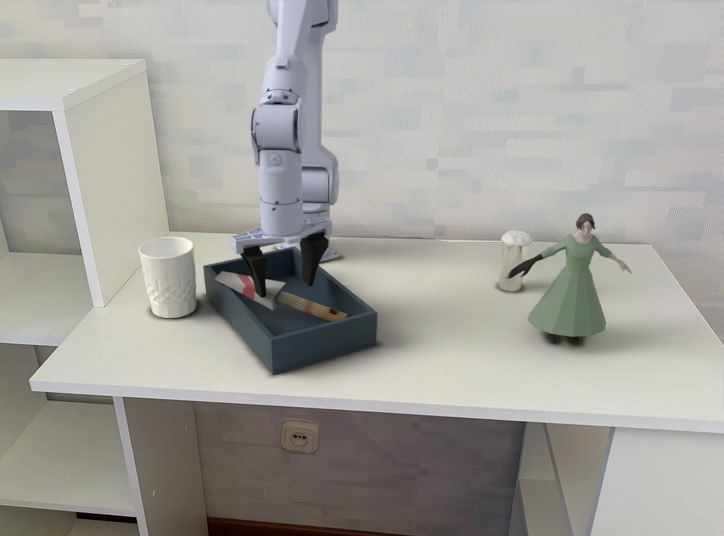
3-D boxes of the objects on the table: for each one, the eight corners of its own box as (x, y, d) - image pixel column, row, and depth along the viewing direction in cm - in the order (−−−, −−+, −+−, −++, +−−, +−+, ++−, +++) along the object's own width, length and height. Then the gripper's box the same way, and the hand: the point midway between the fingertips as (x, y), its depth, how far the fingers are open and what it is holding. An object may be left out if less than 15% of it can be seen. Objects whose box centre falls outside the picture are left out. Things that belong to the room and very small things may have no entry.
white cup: (137, 309, 107) (127, 248, 102) (178, 291, 112) (171, 232, 107) (169, 326, 102) (160, 262, 97) (211, 306, 107) (204, 245, 102)
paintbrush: (225, 261, 104) (351, 306, 101) (222, 277, 106) (347, 322, 102) (213, 271, 101) (344, 318, 98) (211, 287, 102) (339, 334, 99)
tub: (205, 295, 111) (202, 265, 108) (295, 274, 116) (294, 245, 114) (272, 374, 91) (271, 340, 88) (376, 345, 97) (377, 312, 94)
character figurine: (500, 351, 95) (519, 224, 85) (494, 321, 102) (510, 201, 92) (624, 356, 93) (656, 228, 84) (608, 326, 100) (637, 203, 91)
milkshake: (518, 298, 108) (527, 236, 103) (489, 286, 111) (496, 227, 106) (535, 289, 110) (545, 228, 105) (506, 278, 114) (514, 219, 109)
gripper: (242, 216, 88) (248, 312, 95) (343, 197, 94) (342, 289, 101) (221, 200, 94) (229, 291, 101) (318, 182, 99) (319, 270, 106)
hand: (284, 289), depth 101 cm, fingers open, 7 cm apart
